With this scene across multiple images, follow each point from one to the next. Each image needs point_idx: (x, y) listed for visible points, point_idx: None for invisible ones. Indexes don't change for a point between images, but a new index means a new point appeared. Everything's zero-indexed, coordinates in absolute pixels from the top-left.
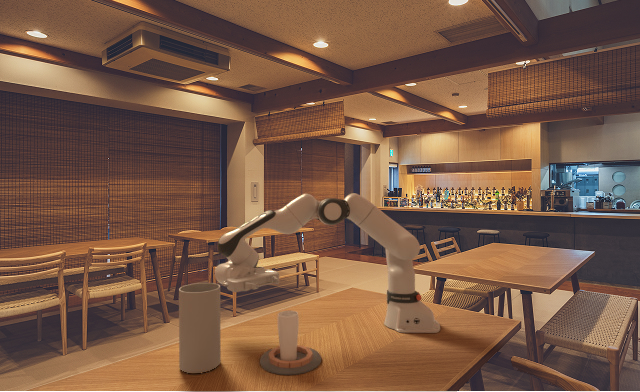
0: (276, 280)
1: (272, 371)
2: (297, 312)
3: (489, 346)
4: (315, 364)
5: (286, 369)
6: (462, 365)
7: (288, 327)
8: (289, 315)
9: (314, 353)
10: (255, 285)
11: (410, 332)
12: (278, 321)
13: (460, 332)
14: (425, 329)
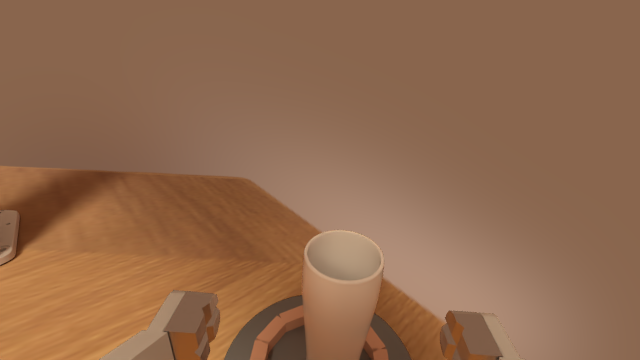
0: (211, 296)
1: (408, 354)
2: (312, 238)
3: (92, 170)
4: None
5: (375, 330)
6: (178, 177)
7: (362, 264)
8: (312, 283)
9: (252, 334)
10: (480, 313)
11: (16, 243)
12: (381, 282)
13: (14, 195)
14: (8, 222)
